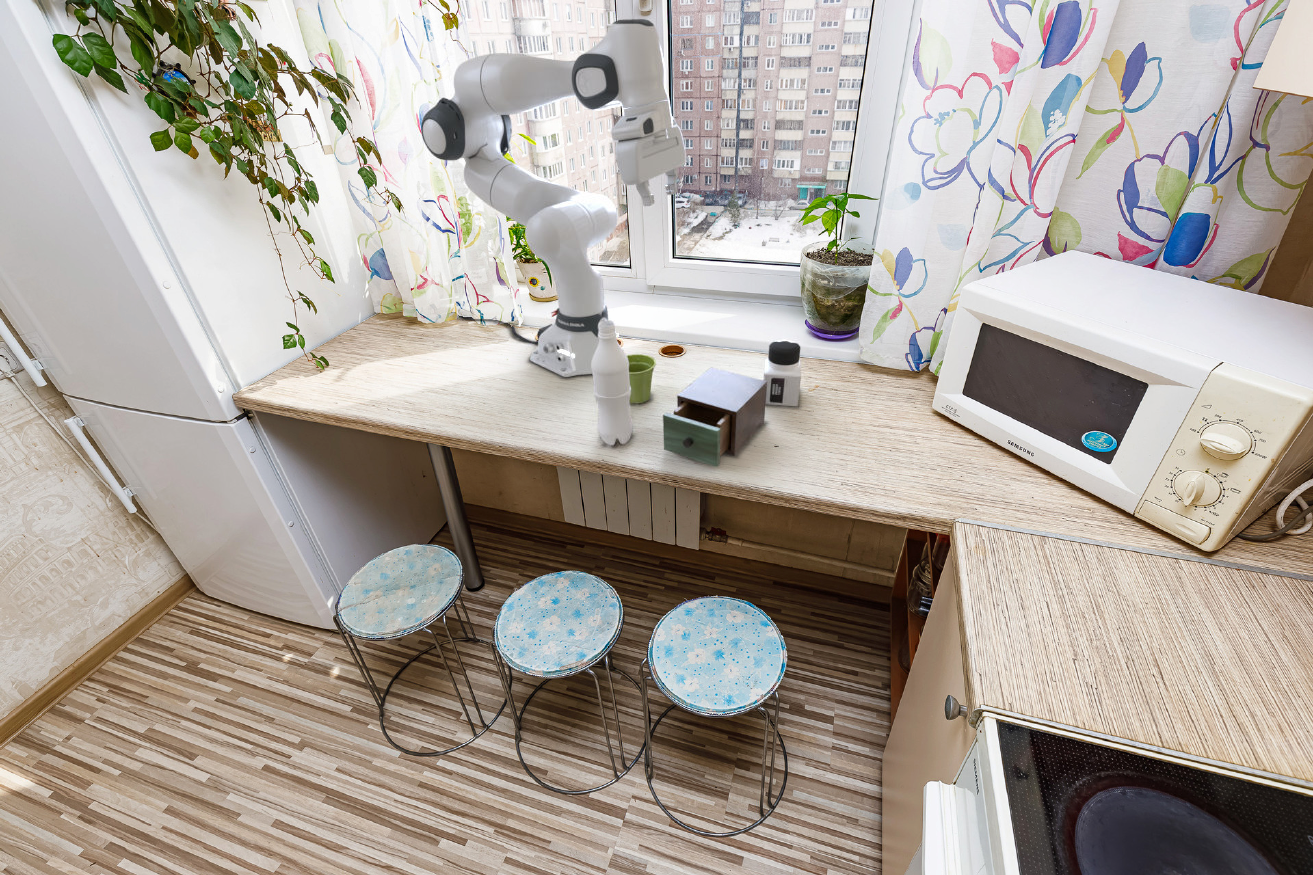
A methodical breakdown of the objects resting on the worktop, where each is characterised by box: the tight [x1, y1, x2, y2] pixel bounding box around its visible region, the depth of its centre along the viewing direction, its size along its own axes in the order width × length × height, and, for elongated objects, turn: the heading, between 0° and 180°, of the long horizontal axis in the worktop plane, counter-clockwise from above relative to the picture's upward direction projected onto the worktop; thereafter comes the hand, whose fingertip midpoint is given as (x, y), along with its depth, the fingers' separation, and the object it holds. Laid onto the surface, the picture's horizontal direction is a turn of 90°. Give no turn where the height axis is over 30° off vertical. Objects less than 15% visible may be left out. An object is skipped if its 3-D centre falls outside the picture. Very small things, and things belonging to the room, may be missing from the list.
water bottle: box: [591, 319, 634, 446], centre depth 115 cm, size 7×7×25 cm
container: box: [763, 339, 802, 407], centre depth 131 cm, size 8×8×13 cm
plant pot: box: [626, 353, 657, 405], centre depth 134 cm, size 9×9×9 cm
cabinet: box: [676, 367, 767, 456], centre depth 121 cm, size 14×13×10 cm
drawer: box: [662, 402, 732, 468], centre depth 116 cm, size 14×12×8 cm
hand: (660, 199), depth 119 cm, fingers open, 8 cm apart
